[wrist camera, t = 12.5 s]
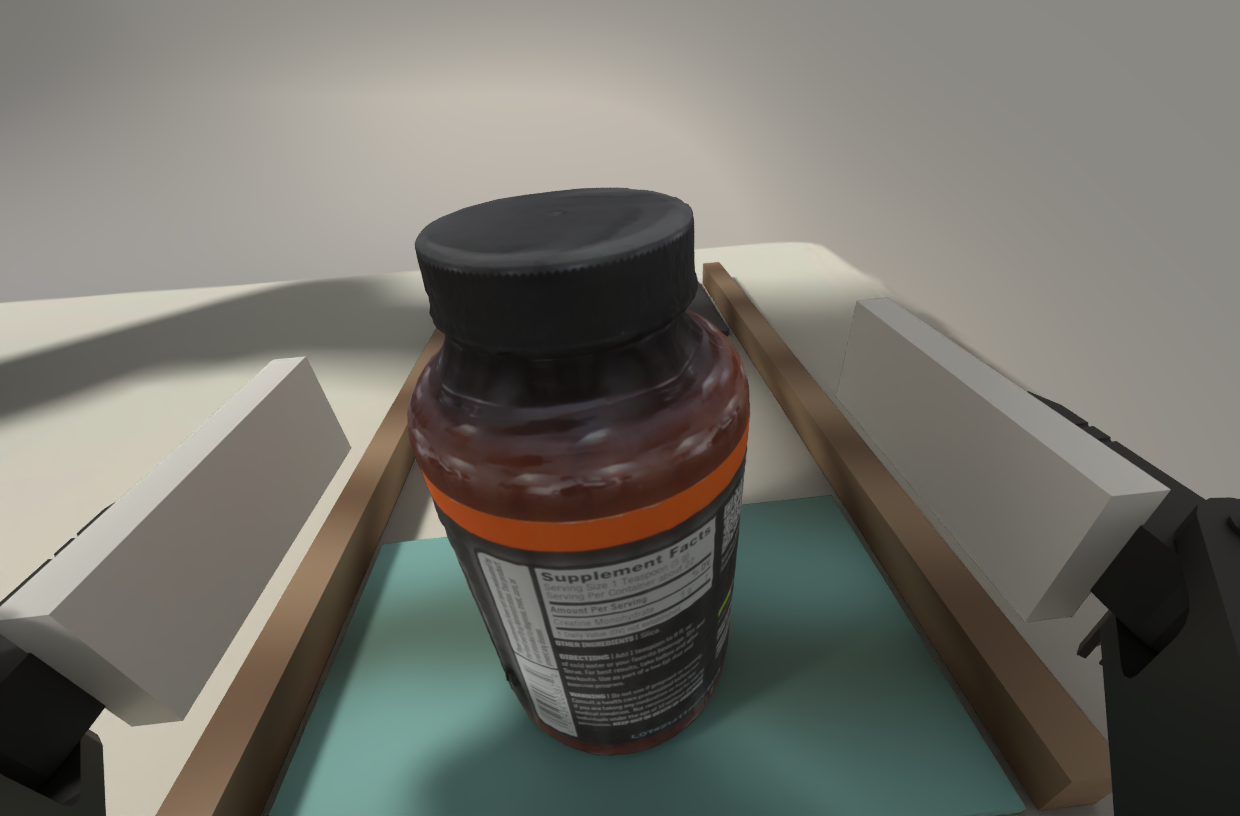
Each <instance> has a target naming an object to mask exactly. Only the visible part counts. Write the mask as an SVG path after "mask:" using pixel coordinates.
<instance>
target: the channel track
mask: <svg viewBox="0 0 1240 816" xmlns="http://www.w3.org/2000/svg"><path fill="white" fill-rule="evenodd" d="M703 285H704V286H705V288H706V289H707V291H708V293H709V294H710V296H711V297H712V299H713V300H714V302H715V304H716V305H717V307H718V308H719V310H720V311H721V313H722V314H723V316H724V318H725V319H726V321H727V322H728V324H729V325H730V327H731V329H732V330H733V332H734V333H735V335H736V336H737V338H738V340H739V341H740V343H741V344H742V346H743V347H744V349H745V350H746V352H747V354H748V355H749V357H750V358H751V360H752V361H753V363H754V365H755V366H756V368H757V369H758V371H759V372H760V374H761V376H762V377H763V379H764V380H765V382H766V383H767V385H768V387H769V388H770V390H771V391H772V393H773V394H774V396H775V397H776V399H777V401H778V402H779V404H780V405H781V407H782V408H783V410H784V412H785V413H786V415H787V416H788V418H789V419H790V421H791V423H792V424H793V426H794V427H795V429H796V430H797V432H798V433H799V435H800V437H801V438H802V440H803V441H804V443H805V444H806V446H807V448H808V449H809V451H810V452H811V454H812V455H813V457H814V459H815V460H816V462H817V463H818V465H819V466H820V468H821V470H822V471H823V473H824V474H825V476H826V477H827V479H828V480H829V482H830V484H831V485H832V487H833V488H834V490H835V491H836V493H837V495H838V496H839V498H840V499H841V501H842V502H843V504H844V506H845V507H846V509H847V510H848V512H849V513H850V515H851V516H852V518H853V520H854V521H855V523H856V524H857V526H858V527H859V529H860V531H861V532H862V534H863V535H864V537H865V538H866V540H867V542H868V543H869V545H870V546H871V548H872V549H873V551H874V553H875V554H876V556H877V557H878V559H879V560H880V562H881V563H882V565H883V567H884V568H885V570H886V571H887V573H888V574H889V576H890V578H891V579H892V581H893V582H894V584H895V585H896V587H897V589H898V590H899V592H900V593H901V595H902V596H903V598H904V599H905V601H906V603H907V604H908V606H909V607H910V609H911V610H912V612H913V614H914V615H915V617H916V618H917V620H918V621H919V623H920V625H921V626H922V628H923V629H924V631H925V632H926V634H927V636H928V637H929V639H930V640H931V642H932V643H933V645H934V646H935V648H936V650H937V651H938V653H939V654H940V656H941V657H942V659H943V661H944V662H945V664H946V665H947V667H948V668H949V670H950V672H951V673H952V675H953V676H954V678H955V679H956V681H957V682H958V684H959V686H960V687H961V689H962V690H963V692H964V693H965V695H966V697H967V698H968V700H969V701H970V703H971V704H972V706H973V708H974V709H975V711H976V712H977V714H978V715H979V717H980V719H981V720H982V722H983V723H984V725H985V726H986V728H987V729H988V731H989V733H990V734H991V736H992V737H993V739H994V740H995V742H996V744H997V745H998V747H999V748H1000V750H1001V751H1002V753H1003V755H1004V756H1005V758H1006V759H1007V761H1008V762H1009V764H1010V765H1011V767H1012V769H1013V770H1014V772H1015V773H1016V775H1017V776H1018V778H1019V780H1020V781H1021V783H1022V784H1023V786H1024V787H1025V789H1026V791H1027V792H1028V794H1029V795H1030V797H1031V798H1032V800H1033V802H1034V803H1035V805H1036V806H1037V808H1038V809H1039V810H1046V809H1054V808H1062V807H1070V806H1078V805H1086V804H1094V803H1097V802H1098V801H1099V800H1101V799H1102V798H1103V797H1105V796H1106V795H1107V794H1108V793H1110V792H1111V791H1112V780H1111V767H1110V754H1109V744H1108V742H1107V741H1106V740H1105V739H1104V738H1103V736H1102V735H1101V734H1100V733H1099V731H1098V730H1097V729H1096V728H1095V726H1094V725H1093V724H1092V723H1091V721H1090V720H1089V719H1088V718H1087V717H1086V715H1085V714H1084V713H1083V712H1082V710H1081V709H1080V708H1079V707H1078V705H1077V704H1076V703H1075V702H1074V700H1073V699H1072V698H1071V697H1070V695H1069V694H1068V693H1067V692H1066V691H1065V689H1064V688H1063V687H1062V686H1061V684H1060V683H1059V682H1058V681H1057V679H1056V678H1055V677H1054V676H1053V674H1052V673H1051V672H1050V671H1049V670H1048V668H1047V667H1046V666H1045V665H1044V663H1043V662H1042V661H1041V660H1040V658H1039V657H1038V656H1037V655H1036V653H1035V652H1034V651H1033V650H1032V648H1031V647H1030V646H1029V645H1028V644H1027V642H1026V641H1025V640H1024V639H1023V637H1022V636H1021V635H1020V634H1019V632H1018V631H1017V630H1016V629H1015V627H1014V626H1013V625H1012V624H1011V623H1010V621H1009V620H1008V619H1007V618H1006V616H1005V615H1004V614H1003V613H1002V611H1001V610H1000V609H999V608H998V606H997V605H996V604H995V603H994V601H993V600H992V599H991V598H990V597H989V595H988V594H987V593H986V592H985V590H984V589H983V588H982V587H981V585H980V584H979V583H978V582H977V580H976V579H975V578H974V577H973V576H972V574H971V573H970V572H969V571H968V569H967V568H966V567H965V566H964V564H963V563H962V562H961V561H960V559H959V558H958V557H957V556H956V554H955V553H954V552H953V551H952V550H951V548H950V547H949V546H948V545H947V543H946V542H945V541H944V540H943V538H942V537H941V536H940V535H939V533H938V532H937V531H936V530H935V529H934V527H933V526H932V525H931V524H930V522H929V521H928V520H927V519H926V517H925V516H924V515H923V514H922V512H921V511H920V510H919V509H918V507H917V506H916V505H915V504H914V503H913V501H912V500H911V499H910V498H909V496H908V495H907V494H906V493H905V491H904V490H903V489H902V488H901V486H900V485H899V484H898V483H897V482H896V480H895V479H894V478H893V477H892V475H891V474H890V473H889V472H888V470H887V469H886V468H885V467H884V465H883V464H882V463H881V462H880V460H879V459H878V458H877V457H876V456H875V454H874V453H873V452H872V451H871V449H870V448H869V447H868V446H867V444H866V443H865V442H864V441H863V439H862V438H861V437H860V436H859V435H858V433H857V432H856V431H855V430H854V428H853V427H852V426H851V425H850V423H849V422H848V421H847V420H846V418H845V417H844V416H843V415H842V413H841V412H840V411H839V410H838V409H837V407H836V406H835V405H834V404H833V402H832V401H831V400H830V399H829V397H828V396H827V395H826V394H825V392H824V391H823V390H822V389H821V388H820V386H819V385H818V384H817V383H816V381H815V380H814V379H813V378H812V376H811V375H810V374H809V373H808V371H807V370H806V369H805V368H804V366H803V365H802V364H801V363H800V362H799V360H798V359H797V358H796V357H795V355H794V354H793V353H792V352H791V350H790V349H789V348H788V347H787V345H786V344H785V343H784V342H783V341H782V339H781V338H780V337H779V336H778V334H777V333H776V332H775V331H774V329H773V328H772V327H771V326H770V324H769V323H768V322H767V321H766V320H765V318H764V317H763V316H762V315H761V313H760V312H759V311H758V310H757V308H756V307H755V306H754V305H753V303H752V302H751V301H750V300H749V298H748V297H747V296H746V295H745V294H744V292H743V291H742V290H741V289H740V287H739V286H738V285H737V284H736V282H735V281H734V280H733V279H732V277H731V276H730V275H729V274H728V273H727V271H726V270H725V269H724V268H723V266H722V265H721V264H720V263H719V262H715V263H705V264H703ZM687 309H688V310H690V311H692V312H694V313H696V314H698V315H700V316H702V317H703V318H705V319H707V320H708V321H709V322H711V323H712V324H713V325H715V326H716V327H717V328H718V329H719V330H720V331H721V332H722V333H723V334H724V335H729V330H728V328H727V327H726V325H725V323H724V322H723V320H722V319H721V317H720V315H719V314H718V312H717V311H716V309H715V307H714V306H713V304H712V303H711V301H710V299H709V298H708V296H707V295H706V293H705V291H704V290H703V288H702V286H701V285H700V283H699V282H698V289H697V292H696V296H695V298H694V300H693V301H692V302H691V304H690V305H689V306H688V307H687ZM444 339H445V334H444V333H442V332H441V331H440V330H439V329H437V328H436V330H435V331H434V333H433V335H432V337H431V338H430V340H429V342H428V344H427V345H426V347H425V349H424V350H423V352H422V354H421V356H420V357H419V359H418V361H417V363H416V364H415V366H414V368H413V370H412V371H411V373H410V375H409V377H408V378H407V380H406V382H405V383H404V385H403V387H402V389H401V390H400V392H399V394H398V396H397V397H396V399H395V401H394V403H393V404H392V406H391V408H390V410H389V411H388V413H387V415H386V416H385V418H384V420H383V422H382V423H381V425H380V427H379V429H378V430H377V432H376V434H375V436H374V437H373V439H372V441H371V442H370V444H369V446H368V448H367V449H366V451H365V453H364V455H363V456H362V458H361V460H360V462H359V463H358V465H357V467H356V469H355V470H354V472H353V474H352V475H351V477H350V479H349V481H348V482H347V484H346V486H345V488H344V489H343V491H342V493H341V495H340V496H339V498H338V500H337V502H336V503H335V505H334V507H333V508H332V510H331V512H330V514H329V515H328V517H327V519H326V521H325V522H324V524H323V526H322V528H321V529H320V531H319V533H318V534H317V536H316V538H315V540H314V541H313V543H312V545H311V547H310V548H309V550H308V552H307V554H306V555H305V557H304V559H303V561H302V562H301V564H300V566H299V567H298V569H297V571H296V573H295V574H294V576H293V578H292V580H291V581H290V583H289V585H288V587H287V588H286V590H285V592H284V594H283V595H282V597H281V599H280V600H279V602H278V604H277V606H276V607H275V609H274V611H273V613H272V614H271V616H270V618H269V620H268V621H267V623H266V625H265V626H264V628H263V630H262V632H261V633H260V635H259V637H258V639H257V640H256V642H255V644H254V646H253V647H252V649H251V651H250V653H249V654H248V656H247V658H246V659H245V661H244V663H243V665H242V666H241V668H240V670H239V672H238V673H237V675H236V677H235V679H234V680H233V682H232V684H231V685H230V687H229V689H228V691H227V692H226V694H225V696H224V698H223V699H222V701H221V703H220V705H219V706H218V708H217V710H216V712H215V713H214V715H213V717H212V718H211V720H210V722H209V724H208V725H207V727H206V729H205V731H204V732H203V734H202V736H201V738H200V739H199V741H198V743H197V745H196V746H195V748H194V750H193V751H192V753H191V755H190V757H189V758H188V760H187V762H186V764H185V765H184V767H183V769H182V771H181V772H180V774H179V776H178V777H177V779H176V781H175V783H174V784H173V786H172V788H171V790H170V791H169V793H168V795H167V797H166V798H165V800H164V802H163V804H162V805H161V807H160V809H159V810H158V812H157V814H156V816H260V814H261V812H262V810H263V807H264V805H265V803H266V800H267V798H268V796H269V793H270V791H271V789H272V786H273V784H274V782H275V780H276V777H277V775H278V773H279V770H280V768H281V766H282V763H283V761H284V759H285V756H286V754H287V752H288V750H289V747H290V745H291V743H292V740H293V738H294V736H295V733H296V731H297V729H298V726H299V724H300V722H301V720H302V717H303V715H304V713H305V710H306V708H307V706H308V703H309V701H310V699H311V696H312V694H313V692H314V690H315V687H316V685H317V683H318V680H319V678H320V676H321V673H322V671H323V669H324V666H325V664H326V662H327V660H328V657H329V655H330V653H331V650H332V648H333V646H334V643H335V641H336V639H337V636H338V634H339V632H340V630H341V627H342V625H343V623H344V620H345V618H346V616H347V613H348V611H349V609H350V606H351V604H352V602H353V600H354V597H355V595H356V593H357V590H358V588H359V586H360V583H361V581H362V579H363V576H364V574H365V572H366V570H367V567H368V565H369V563H370V560H371V558H372V556H373V553H374V551H375V549H376V546H377V544H378V542H379V540H380V537H381V535H382V533H383V530H384V528H385V526H386V523H387V521H388V519H389V516H390V514H391V512H392V509H393V507H394V505H395V503H396V500H397V498H398V496H399V493H400V491H401V489H402V486H403V484H404V482H405V479H406V477H407V475H408V473H409V470H410V468H411V466H412V463H413V461H414V459H415V454H414V451H413V448H412V446H411V443H410V439H409V434H408V418H407V410H408V405H409V402H410V397H411V395H412V393H413V391H414V388H415V386H416V383H417V380H418V377H419V376H420V374H421V372H422V371H423V369H424V367H425V366H426V364H427V363H428V362H429V360H430V358H431V357H432V356H433V355H434V354H436V353H437V352H438V350H439V349H440V348H441V347H442V345H443V342H444ZM1025 808H1026V807H1025V805H1024V803H1023V802H1022V800H1021V799H1020V797H1019V795H1018V794H1017V792H1016V791H1015V789H1014V787H1013V786H1012V784H1011V782H1010V781H1009V779H1008V778H1007V776H1006V774H1005V773H1004V771H1003V770H1002V768H1001V766H1000V765H999V763H998V762H997V760H996V758H995V757H994V755H993V754H992V752H991V750H990V749H989V747H988V746H987V744H986V742H985V741H984V739H983V738H982V736H981V734H980V733H979V731H978V730H977V728H976V726H975V725H974V723H973V721H972V720H971V718H970V717H969V715H968V713H967V712H966V710H965V709H964V707H963V705H962V704H961V702H960V701H959V699H958V697H957V696H956V694H955V693H954V691H953V689H952V688H951V686H950V685H949V683H948V681H947V680H946V678H945V677H944V675H943V673H942V672H941V670H940V669H939V667H938V665H937V664H936V662H935V660H934V659H933V657H932V656H931V654H930V652H929V651H928V649H927V648H926V646H925V644H924V643H923V641H922V640H921V638H920V636H919V635H918V633H917V632H916V630H915V628H914V627H913V625H912V624H911V622H910V620H909V619H908V617H907V616H906V614H905V612H904V611H903V609H902V608H901V606H900V604H899V603H898V601H897V600H896V598H895V596H894V595H893V593H892V591H891V590H890V588H889V587H888V585H887V583H886V582H885V580H884V579H883V577H882V575H881V574H880V572H879V571H878V569H877V567H876V566H875V564H874V563H873V561H872V559H871V558H870V556H869V555H868V553H867V551H866V550H865V548H864V547H863V545H862V543H861V542H860V540H859V539H858V537H857V535H856V534H855V532H854V530H853V529H852V527H851V526H850V524H849V522H848V521H847V519H846V518H845V516H844V514H843V513H842V511H841V510H840V508H839V506H838V505H837V503H836V502H835V500H834V498H833V497H832V495H828V496H819V497H810V498H800V499H791V500H782V501H773V502H764V503H754V504H745V505H741V516H740V525H739V538H738V548H737V556H736V569H735V577H734V588H733V596H732V606H731V617H730V627H729V636H728V646H727V650H726V655H725V659H724V665H723V669H722V672H721V675H720V679H719V682H718V684H717V686H716V688H715V690H714V692H713V695H712V696H711V698H710V699H709V701H708V702H707V704H706V705H705V707H704V709H703V710H702V712H701V713H700V715H699V716H698V717H697V718H696V719H695V720H694V721H693V722H692V723H691V724H690V725H689V726H688V727H687V728H685V729H684V730H683V731H681V732H680V733H679V734H677V735H676V736H675V737H673V738H671V739H670V740H668V741H665V742H664V743H662V744H660V745H658V746H656V747H653V748H650V749H647V750H644V751H641V752H637V753H631V754H625V755H613V756H609V755H595V754H591V753H586V752H583V751H580V750H577V749H574V748H572V747H570V746H567V745H565V744H563V743H561V742H560V741H558V740H556V739H555V738H553V737H551V736H549V735H548V734H547V733H546V732H544V731H543V730H541V729H540V728H539V726H538V725H537V724H536V723H535V722H534V721H533V720H532V719H531V718H530V717H529V716H528V715H527V713H526V711H525V710H524V708H523V706H522V705H521V703H520V702H519V700H518V698H517V696H516V694H515V693H514V691H513V690H512V689H511V687H510V684H509V682H508V681H506V674H505V672H504V670H503V668H502V665H501V662H500V659H499V657H498V655H497V652H496V649H495V647H494V645H493V643H492V641H491V638H490V635H489V633H488V631H487V628H486V625H485V623H484V621H483V619H482V617H481V614H480V612H479V609H478V607H477V605H476V602H475V600H474V598H473V596H472V593H471V591H470V589H469V587H468V584H467V581H466V578H465V576H464V573H463V572H462V569H461V567H460V565H459V562H458V560H457V557H456V555H455V552H454V550H453V548H452V546H451V544H450V542H449V540H448V537H442V538H433V539H424V540H415V541H405V542H396V543H387V544H383V545H382V547H381V550H380V552H379V555H378V557H377V559H376V562H375V564H374V566H373V569H372V571H371V574H370V576H369V578H368V581H367V583H366V585H365V588H364V590H363V593H362V595H361V597H360V600H359V602H358V604H357V607H356V609H355V611H354V614H353V616H352V619H351V621H350V623H349V626H348V628H347V630H346V633H345V635H344V638H343V640H342V642H341V645H340V647H339V649H338V652H337V654H336V657H335V659H334V661H333V664H332V666H331V668H330V671H329V673H328V676H327V678H326V680H325V683H324V685H323V687H322V690H321V692H320V695H319V697H318V699H317V702H316V704H315V706H314V709H313V711H312V714H311V716H310V718H309V721H308V723H307V725H306V728H305V730H304V732H303V735H302V737H301V740H300V742H299V744H298V747H297V749H296V751H295V754H294V756H293V759H292V761H291V763H290V766H289V768H288V770H287V773H286V775H285V778H284V780H283V782H282V785H281V787H280V789H279V792H278V794H277V797H276V799H275V801H274V804H273V806H272V808H271V811H270V813H269V816H997V815H1005V814H1013V813H1020V812H1022V811H1023V810H1024V809H1025Z"/></svg>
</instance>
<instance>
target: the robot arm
mask: <svg viewBox="0 0 1240 816" xmlns="http://www.w3.org/2000/svg"><path fill="white" fill-rule="evenodd" d="M836 397H837V398H838V400H839V401H840V402H841V403H842V404H843V406H844V407H845V408H846V409H847V410H848V412H849V413H850V414H851V415H852V416H853V417H854V419H855V420H856V421H857V422H858V423H859V425H860V426H861V427H862V428H863V429H864V431H865V432H866V433H867V434H868V435H869V437H870V438H871V439H872V440H873V441H874V443H875V444H876V445H877V446H878V447H879V449H880V450H881V451H882V452H883V453H884V455H885V456H886V457H887V458H888V459H889V460H890V462H891V463H892V464H893V465H894V466H895V468H896V469H897V470H898V471H899V472H900V474H901V475H902V476H903V477H904V478H905V480H906V481H907V482H908V483H909V484H910V486H911V487H912V488H913V489H914V490H915V492H916V493H917V494H918V495H919V496H920V497H921V499H922V500H923V501H924V502H925V503H926V505H927V506H928V507H929V508H930V509H931V511H932V512H933V513H934V514H935V515H936V517H937V518H938V519H939V520H940V521H941V523H942V524H943V525H944V526H945V527H946V529H947V530H948V531H949V532H950V533H951V535H952V536H953V537H954V538H955V539H956V540H957V542H958V543H959V544H960V545H961V546H962V548H963V549H964V550H965V551H966V552H967V554H968V555H969V556H970V557H971V558H972V560H973V561H974V562H975V563H976V564H977V566H978V567H979V568H980V569H981V570H982V572H983V573H984V574H985V575H986V576H987V577H988V579H989V580H990V581H991V582H992V583H993V585H994V586H995V587H996V588H997V589H998V591H999V592H1000V593H1001V594H1002V595H1003V597H1004V598H1005V599H1006V600H1007V601H1008V603H1009V604H1010V605H1011V606H1012V607H1013V609H1014V610H1015V611H1016V612H1017V613H1018V615H1019V616H1020V617H1021V618H1022V619H1023V620H1024V622H1030V621H1039V620H1047V619H1056V618H1064V617H1072V616H1073V615H1074V613H1075V612H1076V611H1077V610H1078V608H1079V607H1080V606H1081V604H1082V603H1083V602H1084V601H1085V599H1086V598H1087V597H1088V595H1089V594H1090V593H1091V592H1092V593H1093V594H1094V595H1095V596H1096V597H1097V598H1098V599H1099V600H1100V601H1101V602H1102V603H1103V604H1104V605H1105V606H1106V607H1107V608H1108V609H1109V610H1108V611H1107V613H1106V614H1105V615H1104V616H1103V617H1102V619H1101V620H1100V621H1099V622H1098V623H1097V624H1096V626H1095V627H1094V628H1093V629H1092V630H1091V632H1090V633H1089V634H1088V635H1087V636H1086V638H1085V639H1084V640H1083V641H1082V642H1081V643H1080V645H1079V648H1078V651H1077V655H1079V656H1081V657H1084V658H1086V657H1087V656H1088V655H1089V654H1090V653H1091V652H1092V651H1093V650H1094V648H1095V647H1096V646H1099V645H1101V651H1102V660H1101V661H1100V662H1099V664H1100V665H1103V677H1104V689H1105V702H1106V715H1107V728H1108V741H1109V754H1110V767H1111V780H1112V793H1113V806H1114V816H1240V499H1235V498H1209V499H1207V500H1205V499H1204V498H1202V497H1200V496H1199V495H1197V494H1196V493H1194V492H1193V491H1191V490H1190V489H1188V488H1187V487H1185V486H1183V485H1182V484H1180V483H1179V482H1178V481H1176V480H1174V479H1173V478H1172V477H1170V476H1169V475H1167V474H1165V473H1164V472H1162V471H1161V470H1159V469H1158V468H1156V467H1155V466H1153V465H1151V464H1150V463H1149V462H1147V461H1146V460H1144V459H1143V458H1141V457H1139V456H1138V455H1137V454H1135V453H1134V452H1132V451H1131V450H1129V449H1127V448H1126V447H1124V446H1123V445H1121V444H1120V443H1118V442H1117V441H1114V442H1112V441H1111V440H1110V437H1109V436H1108V435H1106V434H1105V433H1103V432H1102V431H1100V430H1099V429H1097V428H1096V427H1094V426H1091V427H1089V426H1088V422H1086V421H1085V420H1083V419H1082V418H1080V417H1078V416H1077V415H1076V414H1074V413H1073V412H1071V411H1070V410H1068V409H1067V408H1065V407H1063V406H1062V405H1060V404H1058V403H1055V402H1053V401H1050V400H1048V399H1045V398H1043V397H1041V396H1038V395H1036V394H1033V393H1031V392H1026V391H1025V390H1023V389H1022V388H1020V387H1019V386H1017V385H1016V384H1014V383H1013V382H1012V381H1010V380H1009V379H1007V378H1006V377H1004V376H1003V375H1001V374H1000V373H998V372H997V371H995V370H994V369H992V368H991V367H989V366H988V365H986V364H985V363H984V362H982V361H981V360H979V359H978V358H976V357H975V356H973V355H972V354H970V353H969V352H967V351H966V350H964V349H963V348H961V347H960V346H959V345H957V344H956V343H954V342H953V341H951V340H950V339H948V338H947V337H945V336H944V335H942V334H941V333H939V332H938V331H936V330H935V329H933V328H932V327H931V326H929V325H928V324H926V323H925V322H923V321H922V320H920V319H919V318H917V317H916V316H914V315H913V314H911V313H910V312H908V311H907V310H905V309H904V308H903V307H901V306H900V305H898V304H897V303H895V302H894V301H892V300H891V299H889V298H880V299H870V300H860V301H857V302H856V307H855V311H854V316H853V321H852V325H851V330H850V335H849V340H848V344H847V349H846V354H845V358H844V363H843V368H842V372H841V377H840V382H839V386H838V391H837V396H836ZM350 449H351V446H350V444H349V442H348V440H347V438H346V436H345V434H344V432H343V430H342V428H341V426H340V424H339V422H338V420H337V418H336V416H335V414H334V412H333V410H332V408H331V406H330V404H329V402H328V400H327V398H326V396H325V394H324V392H323V390H322V388H321V386H320V384H319V382H318V380H317V378H316V376H315V374H314V372H313V370H312V368H311V366H310V364H309V362H308V360H307V358H306V356H304V357H294V358H285V359H275V360H272V361H271V362H270V363H269V364H267V365H266V366H265V367H264V368H263V369H262V370H261V371H260V372H259V373H258V374H256V375H255V376H254V377H253V378H252V379H251V380H250V381H249V382H248V383H247V384H245V385H244V386H243V387H242V388H241V389H240V390H239V391H238V392H237V393H235V394H234V395H233V396H232V397H231V398H230V399H229V400H228V401H227V402H226V403H224V404H223V405H222V406H221V407H220V408H219V409H218V410H217V411H216V412H215V413H213V414H212V415H211V416H210V417H209V418H208V419H207V420H206V421H205V422H203V423H202V424H201V425H200V426H199V427H198V428H197V429H196V430H195V431H194V432H192V433H191V434H190V435H189V436H188V437H187V438H186V439H185V440H184V441H183V442H181V443H180V444H179V445H178V446H177V447H176V448H175V449H174V450H173V451H171V452H170V453H169V454H168V455H167V456H166V457H165V458H164V459H163V460H162V461H160V462H159V463H158V464H157V465H156V466H155V467H154V468H153V469H152V470H151V471H149V472H148V473H147V474H146V475H145V476H144V477H143V478H142V479H141V480H139V481H138V482H137V483H136V484H135V485H134V486H133V487H132V488H131V489H130V490H128V491H127V492H126V493H125V494H124V495H123V496H122V497H121V498H120V499H119V500H117V501H116V502H115V503H113V504H111V505H110V506H108V507H107V508H105V509H104V510H102V511H101V512H100V513H99V514H98V515H97V516H96V517H95V518H94V519H92V520H91V521H90V522H89V523H88V524H87V525H86V526H85V527H84V528H82V529H81V530H80V531H79V532H78V533H77V538H71V539H70V540H69V541H68V542H67V543H66V544H65V545H63V546H62V547H61V548H60V549H59V550H58V551H57V552H56V553H55V554H54V555H55V557H54V558H53V559H48V560H47V561H46V562H45V563H43V564H42V565H41V566H40V567H39V568H38V569H37V570H36V571H35V572H33V573H32V574H31V575H30V576H29V577H28V578H27V579H26V580H25V581H23V582H22V583H21V584H20V585H19V586H18V587H17V588H16V589H15V590H13V591H12V592H11V593H10V594H9V595H8V596H7V597H6V598H4V599H3V600H2V601H1V602H0V816H106V807H105V786H104V764H103V745H102V743H101V741H100V738H99V736H98V735H97V734H95V733H94V732H92V731H91V730H89V728H90V727H91V725H92V724H93V723H94V721H95V720H96V719H97V717H98V716H99V715H100V713H101V712H102V711H103V709H104V708H106V709H108V710H109V711H110V712H112V713H113V714H115V715H116V716H117V717H119V718H120V719H122V720H123V721H125V722H126V723H127V724H129V725H130V726H141V725H149V724H158V723H166V722H175V721H183V720H184V718H185V716H186V715H187V713H188V712H189V710H190V708H191V707H192V705H193V703H194V702H195V700H196V699H197V697H198V695H199V694H200V692H201V690H202V689H203V687H204V686H205V684H206V682H207V681H208V679H209V678H210V676H211V674H212V673H213V671H214V669H215V668H216V666H217V665H218V663H219V661H220V660H221V658H222V657H223V655H224V653H225V652H226V650H227V648H228V647H229V645H230V644H231V642H232V640H233V639H234V637H235V635H236V634H237V632H238V631H239V629H240V627H241V626H242V624H243V623H244V621H245V619H246V618H247V616H248V614H249V613H250V611H251V610H252V608H253V606H254V605H255V603H256V601H257V600H258V598H259V597H260V595H261V593H262V592H263V590H264V589H265V587H266V585H267V584H268V582H269V580H270V579H271V577H272V576H273V574H274V572H275V571H276V569H277V568H278V566H279V564H280V563H281V561H282V559H283V558H284V556H285V555H286V553H287V551H288V550H289V548H290V546H291V545H292V543H293V542H294V540H295V538H296V537H297V535H298V534H299V532H300V530H301V529H302V527H303V525H304V524H305V522H306V521H307V519H308V517H309V516H310V514H311V512H312V511H313V509H314V508H315V506H316V504H317V503H318V501H319V500H320V498H321V496H322V495H323V493H324V491H325V490H326V488H327V487H328V485H329V483H330V482H331V480H332V479H333V477H334V475H335V474H336V472H337V470H338V469H339V467H340V466H341V464H342V462H343V461H344V459H345V457H346V456H347V454H348V453H349V451H350Z"/></svg>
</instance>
